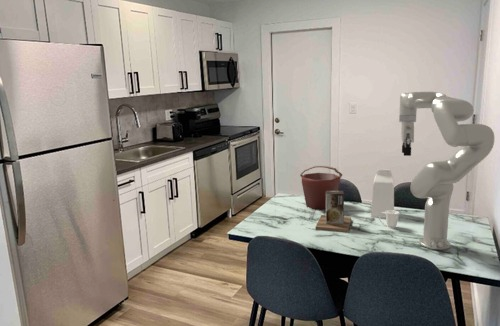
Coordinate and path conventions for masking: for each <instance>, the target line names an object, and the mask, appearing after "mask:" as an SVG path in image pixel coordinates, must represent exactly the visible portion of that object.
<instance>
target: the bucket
mask: <svg viewBox="0 0 500 326" xmlns="http://www.w3.org/2000/svg"><path fill="white" fill-rule="evenodd" d="M315 168H323V169H325V168H326V169H329V170H333V171H334V172H335V173H336V174H335V173H326V172H325V173H324V172H314V173H305V172H307V171H309V170H312V169H315ZM337 174H338V175H337ZM300 177H301V187H302V190H303V191H302V192H303V195H304V196H303V197H304V201H305V207H306V208H308V207H309V209H311V208H312V209H311V210H314V209H315V211H316V210H317V211H321V210H322V211H326V191H339V187H340V183H341V178H342V177H343V174H342V173H341V172H340V171H339V170H338V169H337V168H335V167H332V166H328V165H327V166H326V165H314V166H311V167H307V168H306V169H304V170H303V171H302V172H301V173H300Z"/></svg>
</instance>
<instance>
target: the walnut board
mask: <svg viewBox="0 0 500 326" xmlns="http://www.w3.org/2000/svg"><path fill="white" fill-rule="evenodd" d="M351 222H352V217H351V216H344V224H327V223H326V214H325V215H324V214H321V215H320V217H319V219H318V221H317V223H316V225H315V230H317V231H318V230H319V231H329V232H330V231H331V232H340V233H349V230H350V226H351Z"/></svg>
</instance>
